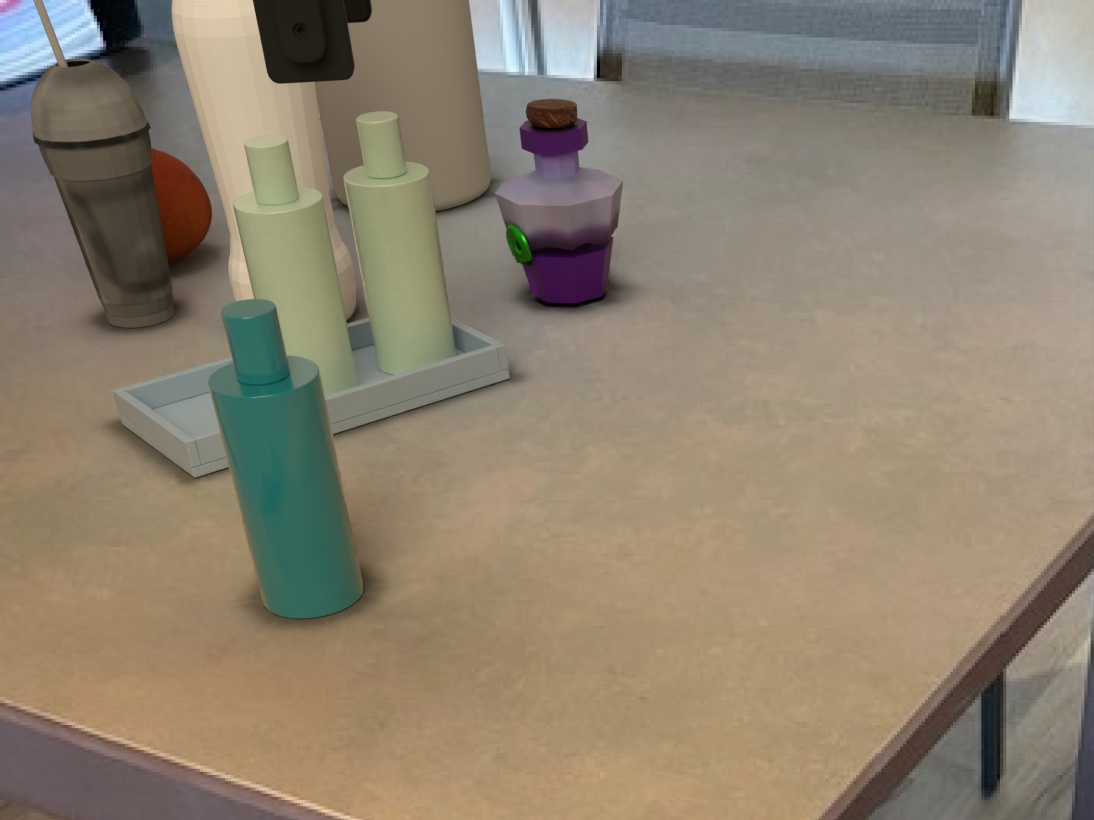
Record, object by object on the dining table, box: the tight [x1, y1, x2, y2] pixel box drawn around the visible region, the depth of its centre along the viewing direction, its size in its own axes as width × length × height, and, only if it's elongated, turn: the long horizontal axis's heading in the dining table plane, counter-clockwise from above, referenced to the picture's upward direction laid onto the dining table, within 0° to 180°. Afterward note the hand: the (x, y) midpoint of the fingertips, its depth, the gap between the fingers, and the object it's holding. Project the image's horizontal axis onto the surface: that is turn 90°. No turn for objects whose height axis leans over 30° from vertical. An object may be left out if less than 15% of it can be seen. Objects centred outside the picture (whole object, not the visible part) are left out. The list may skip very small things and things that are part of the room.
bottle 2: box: [233, 135, 359, 396], centre depth 95 cm, size 5×5×14 cm
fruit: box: [151, 147, 213, 264], centre depth 119 cm, size 9×9×8 cm
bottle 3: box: [343, 111, 457, 375], centre depth 99 cm, size 5×5×14 cm
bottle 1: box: [171, 0, 357, 321], centre depth 101 cm, size 8×8×30 cm
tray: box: [112, 317, 511, 479], centre depth 100 cm, size 21×10×2 cm, turn 129°
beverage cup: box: [30, 0, 176, 329], centre depth 106 cm, size 7×7×20 cm
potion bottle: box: [494, 98, 624, 308], centre depth 109 cm, size 9×9×12 cm
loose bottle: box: [208, 299, 365, 620], centre depth 77 cm, size 5×5×14 cm
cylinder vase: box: [315, 0, 492, 212], centre depth 123 cm, size 12×12×25 cm
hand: (324, 49), depth 65 cm, fingers open, 9 cm apart
